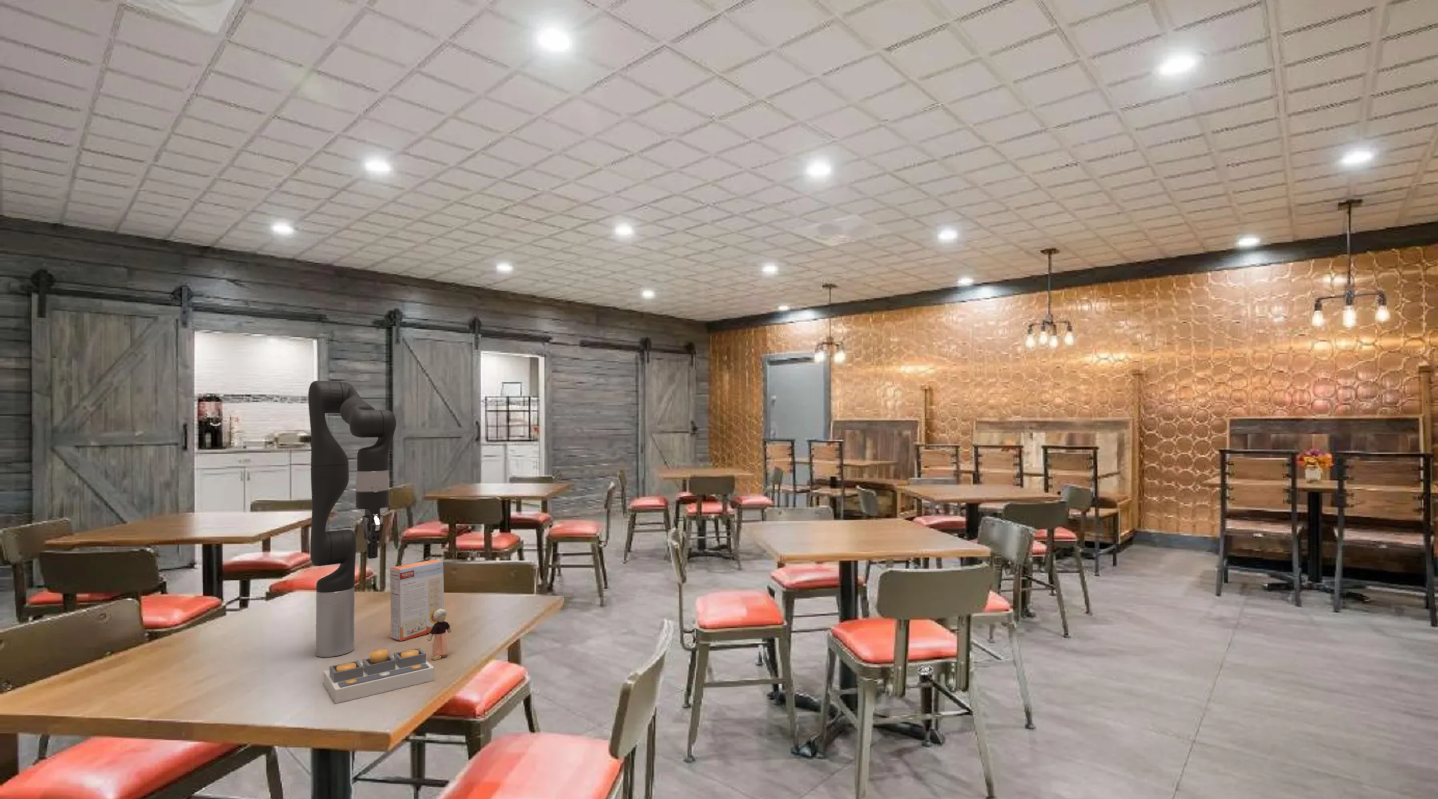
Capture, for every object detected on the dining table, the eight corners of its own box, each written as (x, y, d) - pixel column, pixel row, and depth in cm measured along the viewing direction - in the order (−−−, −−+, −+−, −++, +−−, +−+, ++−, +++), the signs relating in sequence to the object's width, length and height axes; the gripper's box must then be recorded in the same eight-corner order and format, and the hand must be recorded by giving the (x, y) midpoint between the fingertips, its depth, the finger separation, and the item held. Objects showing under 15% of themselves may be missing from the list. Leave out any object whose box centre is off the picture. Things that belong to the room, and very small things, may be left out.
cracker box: (433, 626, 208) (433, 558, 209) (444, 629, 204) (444, 560, 205) (389, 638, 197) (389, 566, 197) (400, 642, 193) (400, 568, 194)
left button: (335, 674, 158) (335, 665, 158) (354, 670, 161) (354, 661, 161) (338, 678, 155) (338, 669, 155) (357, 674, 157) (357, 665, 157)
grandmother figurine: (438, 661, 175) (438, 612, 176) (425, 661, 176) (425, 612, 177) (455, 652, 183) (455, 605, 184) (442, 651, 184) (442, 604, 184)
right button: (399, 660, 167) (399, 652, 167) (416, 656, 169) (416, 648, 169) (403, 664, 164) (403, 656, 164) (420, 660, 166) (420, 652, 166)
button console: (323, 683, 162) (323, 661, 162) (415, 663, 175) (415, 642, 175) (335, 703, 149) (335, 679, 149) (434, 680, 162) (434, 658, 163)
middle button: (367, 659, 162) (368, 651, 163) (385, 656, 165) (385, 647, 165) (371, 663, 159) (371, 655, 159) (389, 660, 162) (389, 651, 162)
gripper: (350, 488, 172) (350, 556, 171) (361, 491, 162) (361, 564, 161) (382, 486, 177) (382, 552, 176) (395, 489, 166) (394, 559, 166)
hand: (372, 558), depth 169 cm, fingers closed
